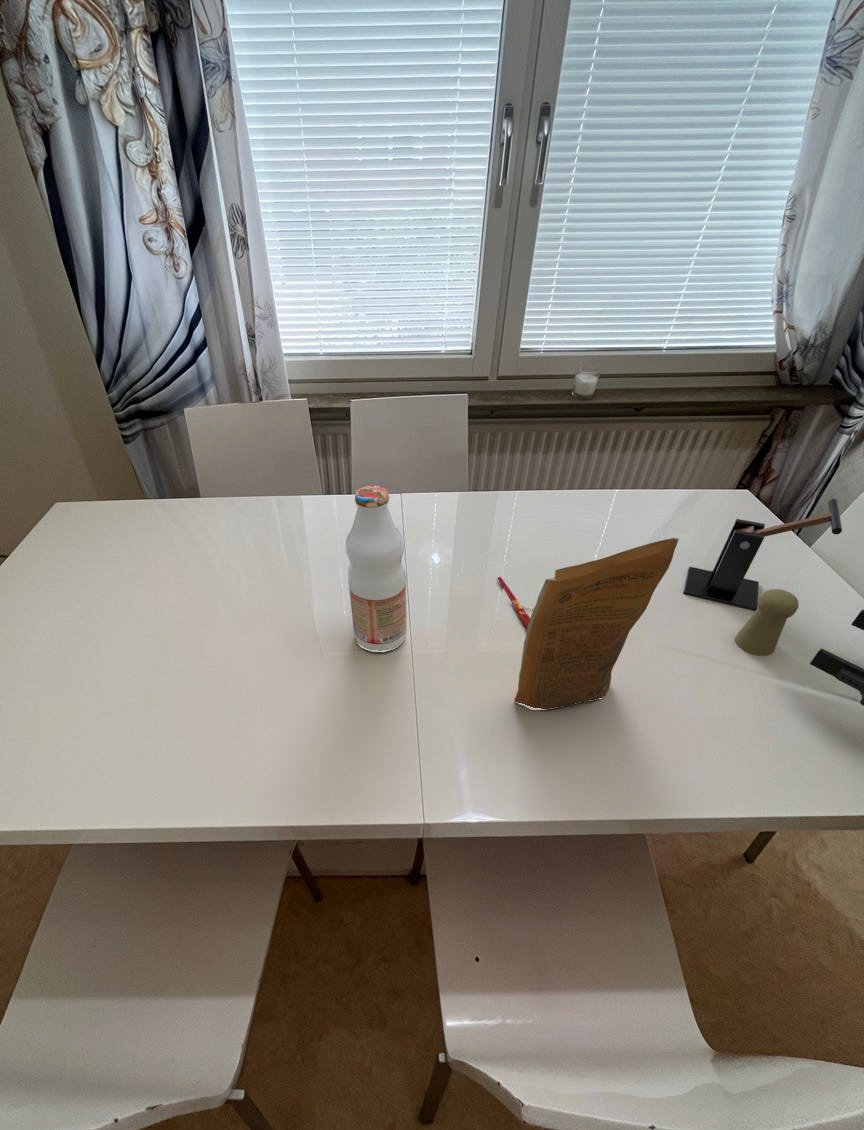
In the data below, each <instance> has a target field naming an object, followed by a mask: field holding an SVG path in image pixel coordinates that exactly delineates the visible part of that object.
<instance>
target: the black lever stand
mask: <svg viewBox="0 0 864 1130" xmlns="http://www.w3.org/2000/svg"><path fill="white" fill-rule="evenodd" d="M751 526H754V529H755V531H756V530H761V529H765V527H766V524H765V523H761V522H757V521H751V520H746V519H740V518H735V521H734V523H733V525H732V527H731V530H730V532H729V533H728V536H727V538H726V541H725V542H724V544H723V547H722V549H721V551H720V554H719V556H718V558H717V560H716V562H715V564H714V567H713V569H712V570H708V569H702V568H698V567H694V566H688V569H687V572H686V573H687V574H686V579H685V584H684V588H683V595H686V596H690V597H693V598H699V599H703V600H705V601H706V600H707V601H710V602H716V603H719V604H723V605H728V606H732V607H736V608H740V609H745V610H748V611H753V612H755V611H756V610H757V609H758V600H759V581H758V580H753V579H748V578H745V577H746V575H747V573H748V571H749V569H750V567H751V565H752V563H753V561H754V559H755V557H756V555H757V553H758V551H759V549H760V547H761V545H762V544H763V541H764V540H765V537H764V535H761V534H755V533H750V532H745V531H740V530H739V529H743V528H747V527H751Z"/></svg>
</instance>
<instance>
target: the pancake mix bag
mask: <svg viewBox="0 0 864 1130" xmlns="http://www.w3.org/2000/svg"><path fill="white" fill-rule="evenodd" d="M679 540H680V539H679V538H676V537H671V538H667V539H666V538H665V539H662V540H658V541H653V542H649V543H646V544H643V545H640V546H639V545H638V546H636V547H633V548H630V549H626V550H624V551H623V550H622V551H621V552H618V553H615V554H611V555H609V556H606V557H602V558H599V559H595V560H591V561H587V562H583V563H581V564H575V565H571V566H570V565H569V566H566V567H562V568H558V569H555V571H554V577H549V578H546V579H545V581H544V582H543V585H542V588H541V590H540V592H539V594H538V597H537V600H536V604H535V606H534V608H533V609H532V612H531V616H530V621H529V624H528V627H527V629H526V631H525V632H526V633H525V638H524V642H523V648H522V653H521V654H522V655H521V663H520V669H519V673H518V683H517V684H518V685H517V692H516V695H515V697H514V700H513V702H514V701H515V702H518V703H522V704H525V705H527V706H530V707H533V708H541V709H550V708H555V707H560V708H562V707H561V706H565V707H567V706H566V705H570V706H572V705H571V704H574V705H576V704H575V703H579V702H584V701H589V700H595V699H599V698H602V697H603V696H604V695H605V694H606V693H607V694H608V692H609V689H610V686H611V681H612V671H613V669H614V666H615V665H616V662H617V661H618V659H619V657H620V654H621V652H622V650H623V648H624V646H625V644H626V641H627V639H628V635H629V634H630V631H631V630H632V628H633V627H634V626H635V625H636V623H637V622H638V621H639V620H640V619H641V617H642V615H643V614H644V613H645V611H646V610H647V608H648V606H649V604H650V602H651V600H652V597H653V595H654V592H655V590H656V589H657V587H658V586H659V584H660V583H661V581H662V579H663V578H664V576H665V574H666V573H667V571H668V570H669V568H670V566H671V563H672V561H673V558H674V554H675V550H676V548H677V546H678V542H679ZM607 691H608V692H607ZM607 694H606V695H607ZM606 695H605V696H606ZM605 696H604V697H605ZM604 697H603V698H604ZM603 698H602V699H603ZM595 701H596V700H595ZM589 702H590V701H589ZM584 703H585V702H584ZM579 704H580V703H579Z"/></svg>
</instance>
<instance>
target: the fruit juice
mask: <svg viewBox="0 0 864 1130" xmlns="http://www.w3.org/2000/svg"><path fill="white" fill-rule="evenodd" d="M354 501H355V506H356V507H357V509H356V513H355V516H354V520H353V523H352V527H351V530H349V532H348V534H347V536H346V540H345V552H346V556H347V558H348V561H349V565H348V569H347V582H348V589H349V591H348V592H349V601H350V609H351V618H352V629H353V636H354V640H355V639H356V640H355V642H356V641H357V642H358V643H359V644H360V645H361V646H363V647H364V648H367V649H370V650H378V651H382V650H389V649H393V648H396V647H397V646H399V645H401V644H402V645H403V643H404V642H405V640H406V638H407V632H408V631H407V628H408V627H407V626H408V625H407V575H406V567H405V565H404V564H405V563H404V562H403V560H402V558H403V556H404V552H405V541H404V537H403V534H402V532H401V530H400V529H399V528H398V527H397V526H396V524H395V522H394V520H393V517H392V515H391V512H390V509H389V507H388V505H389V503H390V494H389V491H388V489H386V487H383V486H380V485H366V486H363V487H360V488H359V489H357V490H356V491H355V494H354ZM403 641H404V642H403ZM357 642H356V643H357ZM402 642H403V643H402ZM402 645H401V646H402Z"/></svg>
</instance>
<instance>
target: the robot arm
mask: <svg viewBox="0 0 864 1130" xmlns="http://www.w3.org/2000/svg"><path fill="white" fill-rule="evenodd" d="M850 626H853V627H855V628H858V629H859V630H862V631H864V609H861V610H860V612H859V613H858V614H857V616H855V618H854V620H852V622H851V625H850ZM809 665H810V666H813V667H815V668H816V669H818V670H821V671H822V672H824V673H826V674H828V675H830V676H831V677H834V678H835V679H836V680H837V681H839V682H841V683H843V684H844V685H847V686H849V687H851V688H853V689H855V690H857V691H858V692H859V694H860V695H861V698H860V700H859V705H861V706H863V707H864V668H863V667H861V666H859V665H857V664H855V663H853V662H851V661H849V660H847V659H845V658H842V657H841V656H838V655H836V654H834V653H833V652H830V651H828V650H826V649H824V648H820V649H819V650H818V651H817V652H816V654H815V655H814V657H813V658H812V659H811V661H810V662H809Z"/></svg>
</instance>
